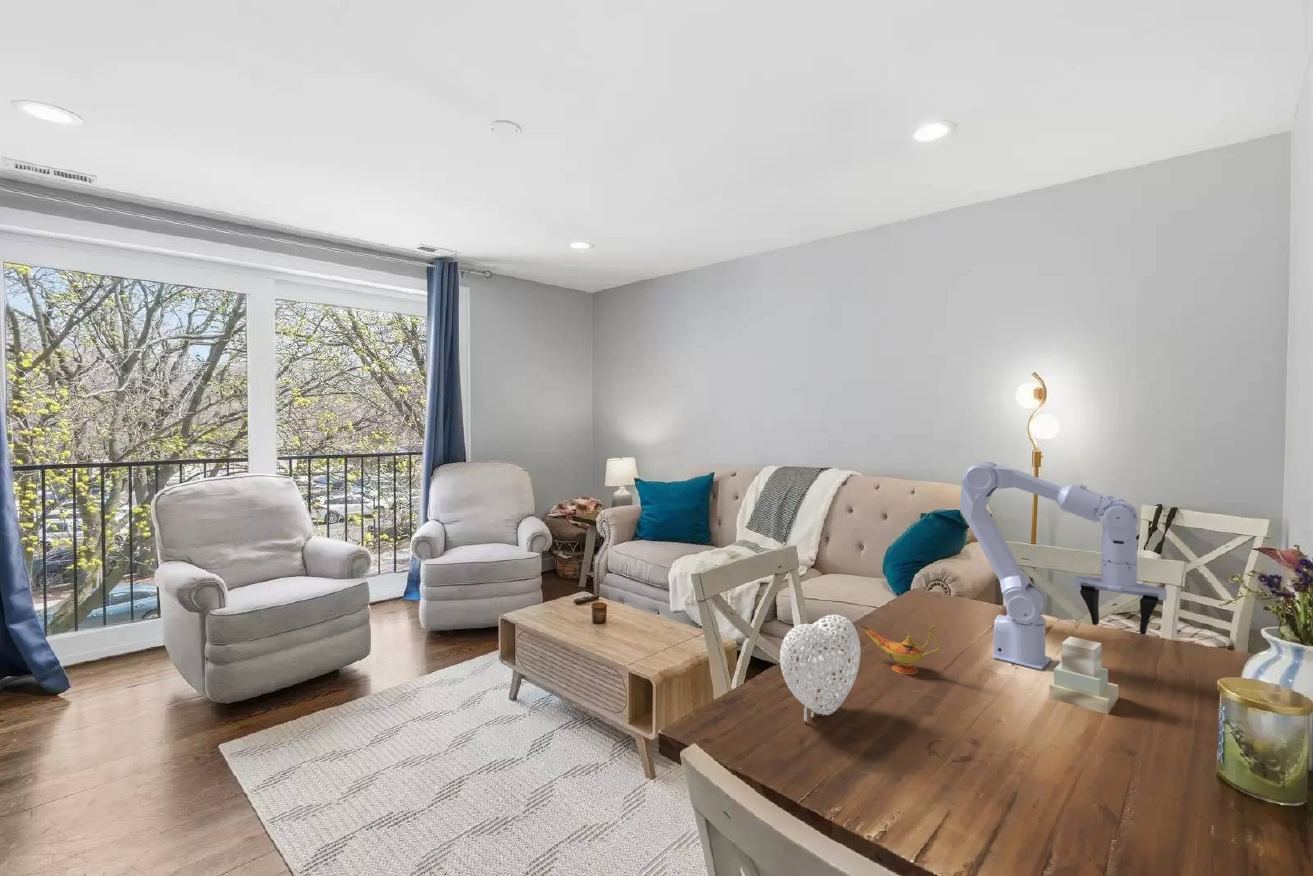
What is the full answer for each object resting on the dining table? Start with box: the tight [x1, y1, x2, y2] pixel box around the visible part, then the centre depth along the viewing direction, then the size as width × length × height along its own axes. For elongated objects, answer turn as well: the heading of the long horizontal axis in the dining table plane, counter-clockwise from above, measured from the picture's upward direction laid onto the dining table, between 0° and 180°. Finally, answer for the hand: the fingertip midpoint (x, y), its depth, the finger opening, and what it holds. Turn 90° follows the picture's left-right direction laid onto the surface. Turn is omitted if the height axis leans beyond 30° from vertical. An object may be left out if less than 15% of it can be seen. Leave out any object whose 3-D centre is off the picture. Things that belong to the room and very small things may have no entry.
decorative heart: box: [779, 614, 862, 722], centre depth 108 cm, size 18×11×17 cm, turn 128°
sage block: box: [1053, 661, 1109, 697], centre depth 113 cm, size 7×7×3 cm
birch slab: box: [1048, 680, 1119, 715], centre depth 113 cm, size 9×9×3 cm
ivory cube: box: [1061, 636, 1102, 677], centre depth 113 cm, size 5×5×5 cm
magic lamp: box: [858, 625, 941, 675], centre depth 128 cm, size 7×18×11 cm, turn 41°
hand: (1118, 628), depth 120 cm, fingers open, 7 cm apart
